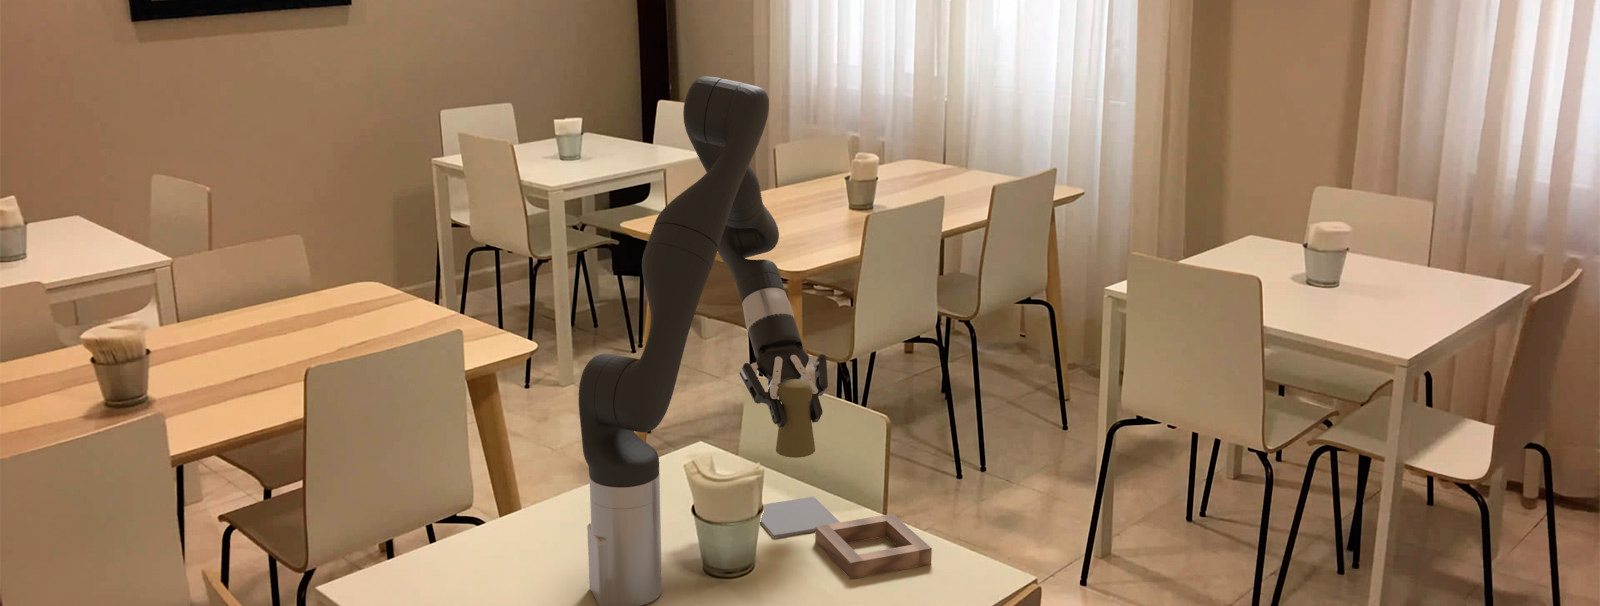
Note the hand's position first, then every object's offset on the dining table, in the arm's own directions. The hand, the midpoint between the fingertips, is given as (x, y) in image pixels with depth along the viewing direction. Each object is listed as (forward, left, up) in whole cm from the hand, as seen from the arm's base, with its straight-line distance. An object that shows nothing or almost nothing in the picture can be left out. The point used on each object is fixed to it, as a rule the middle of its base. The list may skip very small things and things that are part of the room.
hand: (799, 422), depth 193 cm
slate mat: (0, +2, -16) cm, 16 cm away
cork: (0, +2, -5) cm, 6 cm away
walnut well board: (+6, -13, -16) cm, 22 cm away
